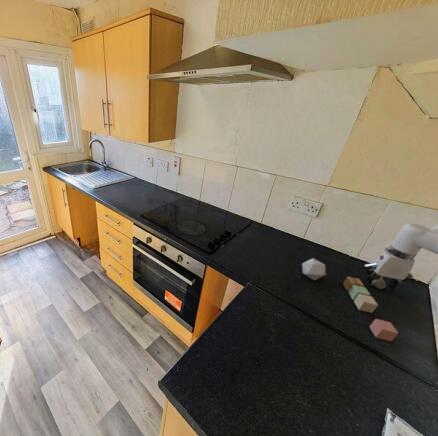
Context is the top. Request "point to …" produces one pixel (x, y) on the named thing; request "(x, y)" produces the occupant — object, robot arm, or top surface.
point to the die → (313, 269)
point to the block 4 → (383, 330)
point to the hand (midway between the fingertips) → (378, 284)
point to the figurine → (379, 283)
